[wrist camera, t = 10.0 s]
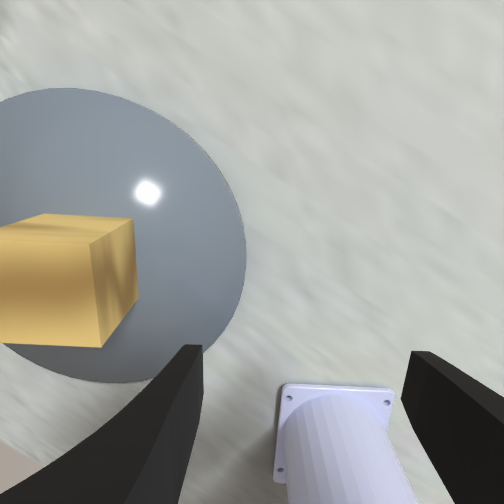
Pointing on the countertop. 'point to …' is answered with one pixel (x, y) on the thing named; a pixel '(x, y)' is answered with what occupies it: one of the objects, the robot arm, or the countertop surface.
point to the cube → (66, 279)
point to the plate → (128, 206)
